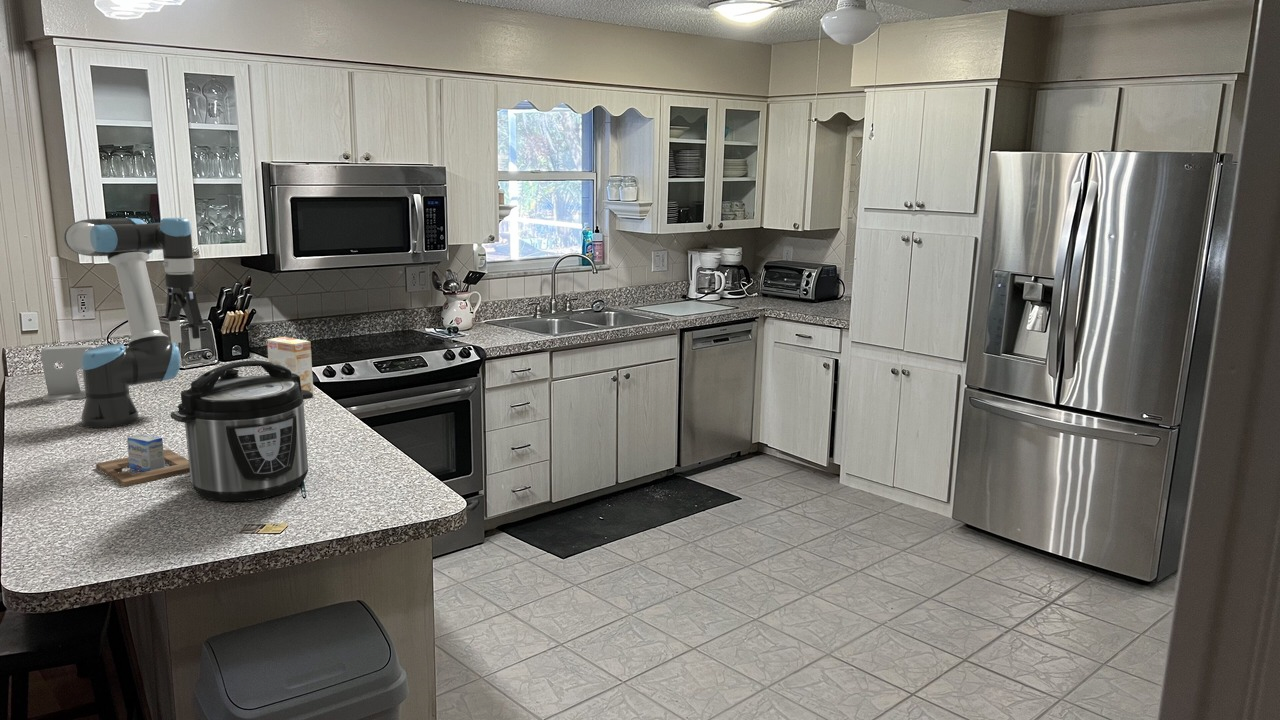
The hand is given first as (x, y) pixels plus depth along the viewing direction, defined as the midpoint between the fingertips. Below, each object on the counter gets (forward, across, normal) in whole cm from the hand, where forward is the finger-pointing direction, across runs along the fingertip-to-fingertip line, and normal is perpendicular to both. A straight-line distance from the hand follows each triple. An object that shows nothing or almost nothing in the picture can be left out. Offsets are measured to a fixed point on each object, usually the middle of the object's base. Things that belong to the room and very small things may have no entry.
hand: (186, 346), depth 262 cm
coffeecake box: (+27, -26, +44) cm, 58 cm away
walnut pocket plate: (+27, +23, -21) cm, 41 cm away
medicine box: (+27, +23, -21) cm, 41 cm away
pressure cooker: (+27, +55, -8) cm, 62 cm away
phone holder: (+27, -75, -9) cm, 80 cm away
